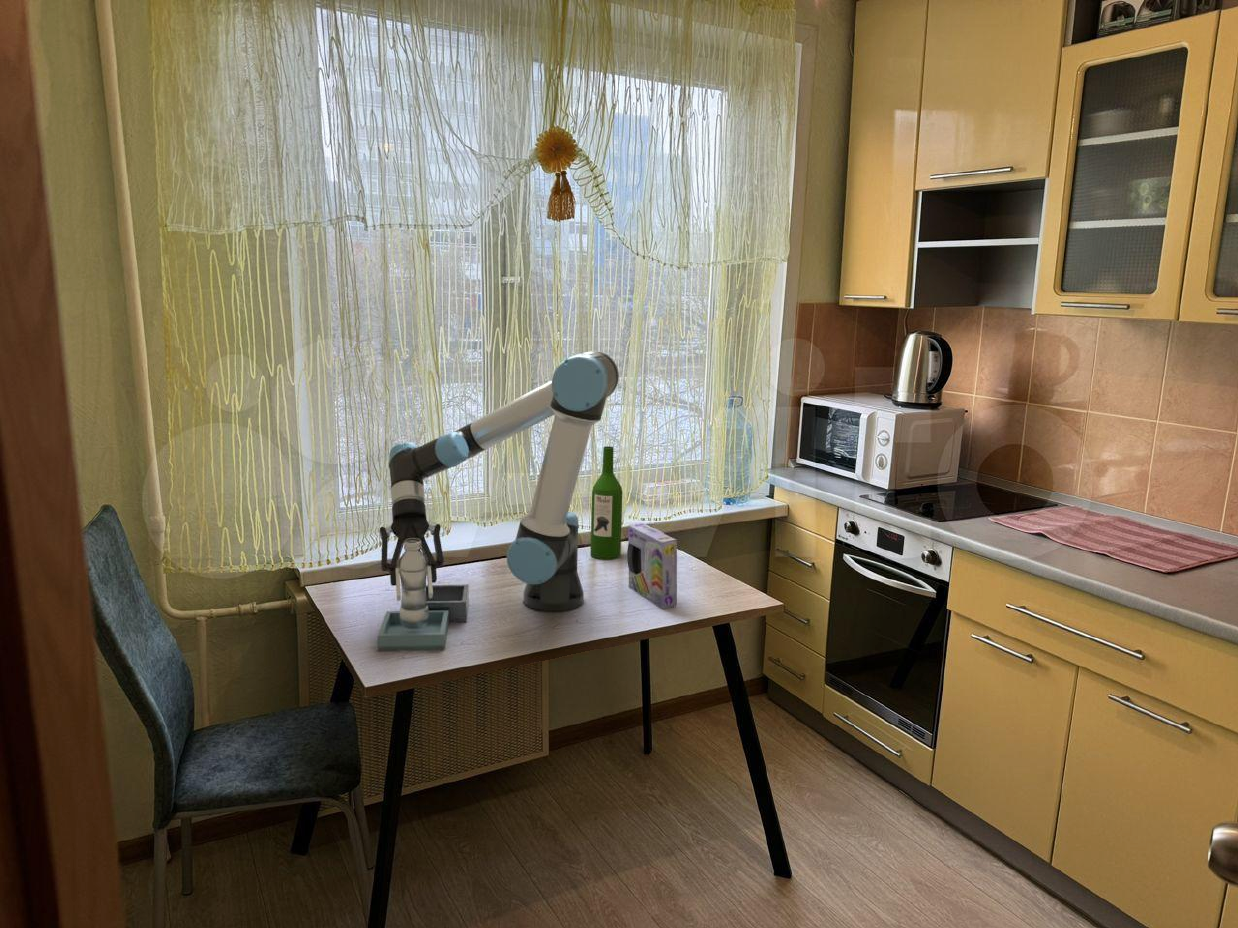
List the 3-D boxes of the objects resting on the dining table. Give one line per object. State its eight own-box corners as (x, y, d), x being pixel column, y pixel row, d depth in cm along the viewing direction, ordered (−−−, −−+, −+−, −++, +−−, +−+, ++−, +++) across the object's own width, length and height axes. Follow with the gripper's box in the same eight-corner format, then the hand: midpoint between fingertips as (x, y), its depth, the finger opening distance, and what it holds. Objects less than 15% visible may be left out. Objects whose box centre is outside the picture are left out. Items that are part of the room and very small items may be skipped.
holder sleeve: (468, 603, 214) (468, 584, 213) (466, 622, 202) (466, 602, 201) (419, 604, 212) (419, 585, 211) (414, 623, 201) (413, 603, 200)
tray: (448, 624, 201) (448, 610, 200) (444, 649, 187) (444, 634, 187) (387, 625, 199) (386, 611, 198) (377, 651, 186) (377, 635, 185)
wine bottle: (587, 558, 251) (590, 449, 244) (593, 549, 260) (596, 443, 253) (617, 561, 250) (621, 451, 243) (622, 552, 258) (626, 445, 251)
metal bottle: (403, 634, 188) (401, 546, 184) (396, 623, 194) (394, 537, 190) (432, 629, 191) (431, 543, 187) (424, 618, 197) (423, 534, 193)
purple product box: (624, 585, 230) (626, 521, 226) (641, 583, 232) (643, 520, 228) (660, 610, 213) (663, 542, 209) (677, 607, 215) (680, 539, 212)
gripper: (449, 511, 205) (458, 600, 193) (365, 515, 200) (369, 607, 188) (451, 494, 199) (460, 586, 187) (365, 498, 194) (369, 592, 182)
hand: (414, 596), depth 188 cm, fingers closed on metal bottle, 6 cm apart
